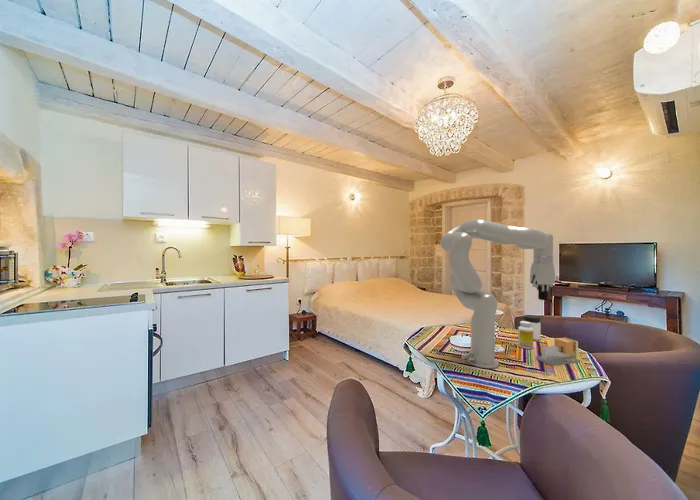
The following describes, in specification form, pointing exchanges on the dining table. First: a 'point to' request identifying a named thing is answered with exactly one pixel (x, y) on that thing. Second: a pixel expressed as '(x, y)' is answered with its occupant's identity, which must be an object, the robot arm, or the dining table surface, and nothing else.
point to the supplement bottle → (525, 335)
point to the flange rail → (559, 355)
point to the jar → (534, 325)
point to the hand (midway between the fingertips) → (542, 299)
